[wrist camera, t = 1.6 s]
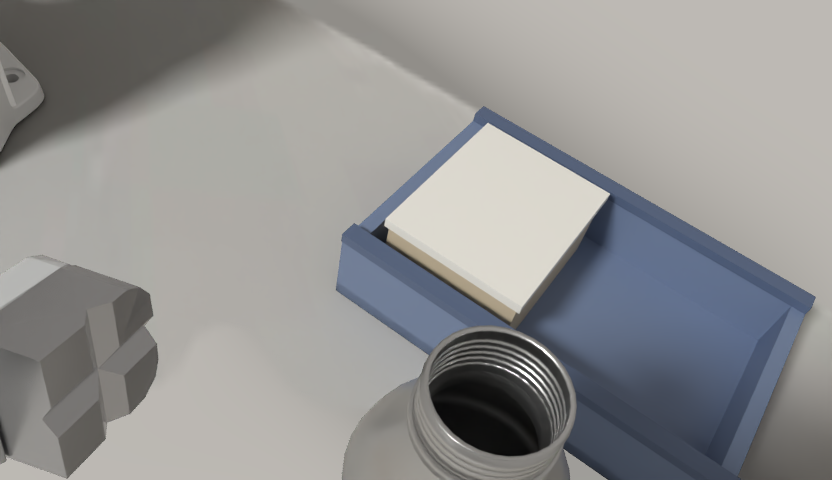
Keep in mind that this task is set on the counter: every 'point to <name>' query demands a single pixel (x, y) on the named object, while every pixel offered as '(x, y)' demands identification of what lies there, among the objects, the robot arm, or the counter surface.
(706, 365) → the tote
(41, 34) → the counter surface
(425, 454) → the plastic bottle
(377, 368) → the counter surface
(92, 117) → the counter surface
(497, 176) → the carton
